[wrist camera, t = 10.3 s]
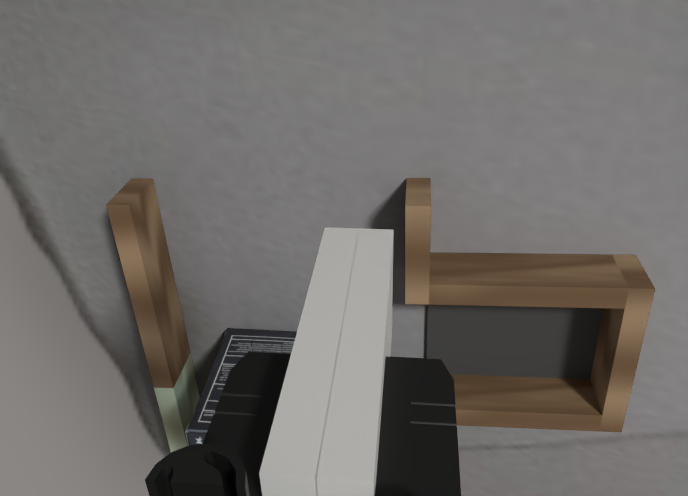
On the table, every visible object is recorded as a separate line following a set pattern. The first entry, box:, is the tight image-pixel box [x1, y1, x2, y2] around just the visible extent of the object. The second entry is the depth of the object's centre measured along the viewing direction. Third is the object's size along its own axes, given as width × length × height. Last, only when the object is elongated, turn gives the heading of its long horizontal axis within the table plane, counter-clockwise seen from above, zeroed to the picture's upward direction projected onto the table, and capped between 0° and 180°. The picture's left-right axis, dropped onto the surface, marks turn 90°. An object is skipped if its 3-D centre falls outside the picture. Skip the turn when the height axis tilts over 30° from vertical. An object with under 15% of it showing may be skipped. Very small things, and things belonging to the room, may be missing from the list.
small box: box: [185, 328, 297, 446], centre depth 45 cm, size 11×6×10 cm, turn 91°
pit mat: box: [426, 304, 604, 379], centre depth 45 cm, size 9×12×1 cm
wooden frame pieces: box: [106, 178, 655, 452], centre depth 45 cm, size 23×34×4 cm
